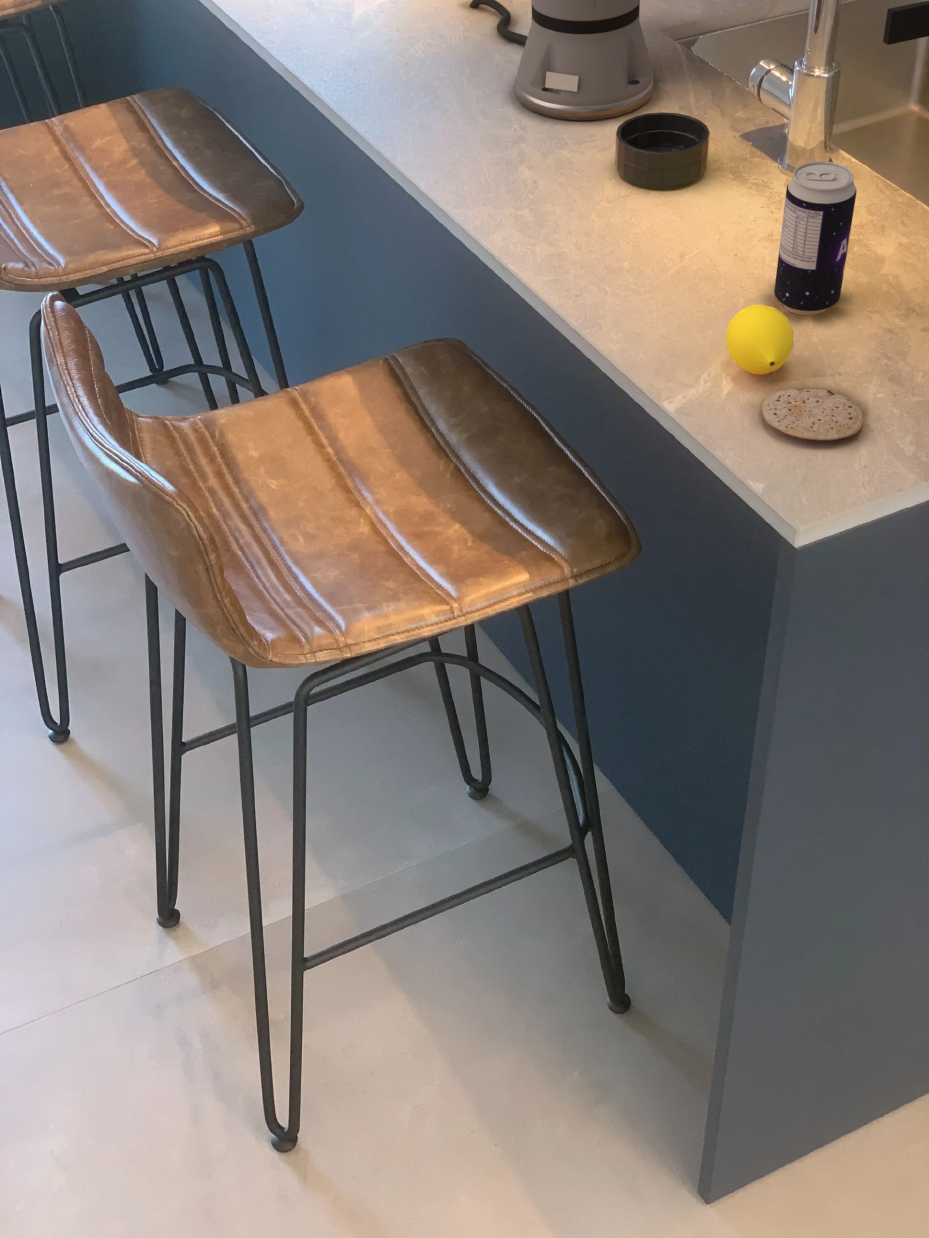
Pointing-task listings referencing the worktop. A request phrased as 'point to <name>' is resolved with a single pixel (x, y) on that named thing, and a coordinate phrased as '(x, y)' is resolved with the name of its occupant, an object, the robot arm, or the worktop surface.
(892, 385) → the worktop surface
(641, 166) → the bowl
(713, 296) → the worktop surface
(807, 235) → the beverage can
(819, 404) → the flatbread
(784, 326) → the lemon
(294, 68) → the worktop surface
